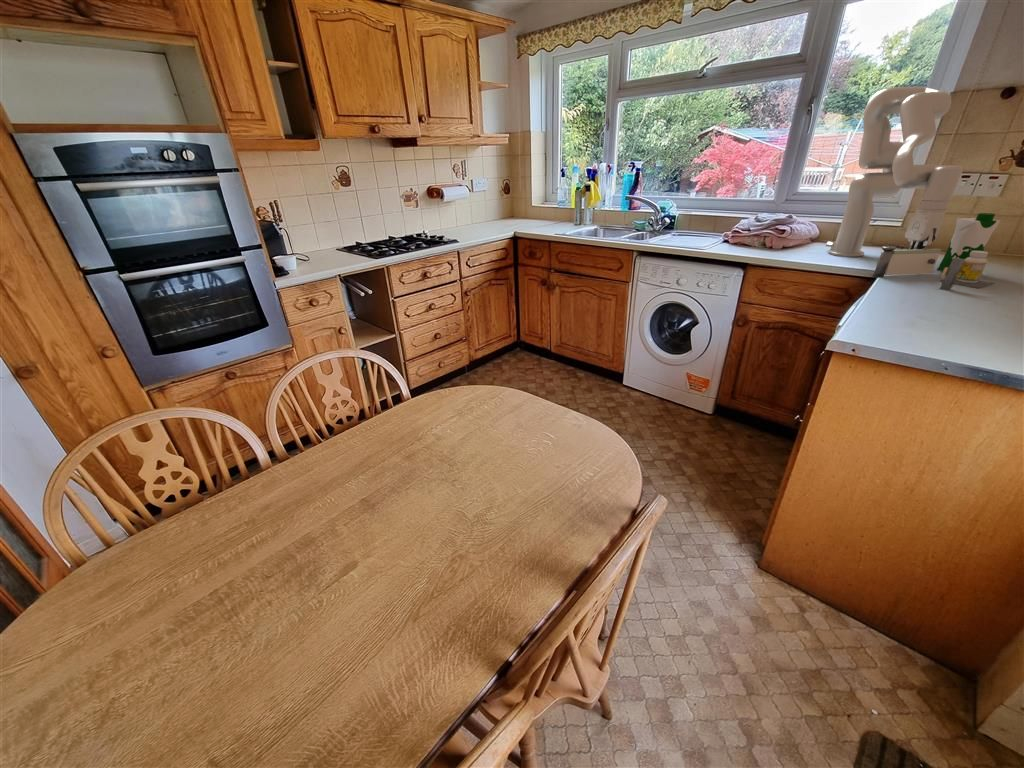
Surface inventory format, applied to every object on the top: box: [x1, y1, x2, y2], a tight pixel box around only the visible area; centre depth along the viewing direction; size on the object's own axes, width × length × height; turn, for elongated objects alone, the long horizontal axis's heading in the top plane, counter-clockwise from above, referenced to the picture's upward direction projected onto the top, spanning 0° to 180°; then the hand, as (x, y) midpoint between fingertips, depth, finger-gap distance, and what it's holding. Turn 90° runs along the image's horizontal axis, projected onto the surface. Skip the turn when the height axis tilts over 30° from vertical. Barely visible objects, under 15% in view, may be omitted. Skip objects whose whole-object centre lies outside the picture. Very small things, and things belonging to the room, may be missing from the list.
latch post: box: [939, 258, 964, 291], centre depth 136 cm, size 3×3×10 cm
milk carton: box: [936, 212, 1001, 273], centre depth 151 cm, size 9×9×20 cm
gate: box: [884, 248, 943, 276], centre depth 151 cm, size 16×2×8 cm, turn 89°
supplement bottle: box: [956, 250, 989, 283], centre depth 141 cm, size 5×5×10 cm
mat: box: [940, 277, 996, 289], centre depth 143 cm, size 10×10×1 cm
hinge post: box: [873, 245, 897, 278], centre depth 152 cm, size 4×4×10 cm
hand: (911, 260), depth 156 cm, fingers closed
